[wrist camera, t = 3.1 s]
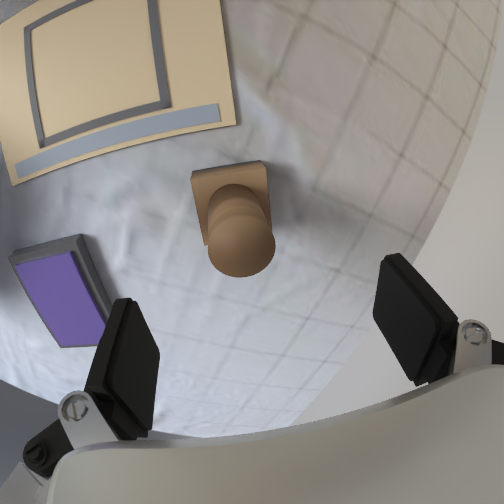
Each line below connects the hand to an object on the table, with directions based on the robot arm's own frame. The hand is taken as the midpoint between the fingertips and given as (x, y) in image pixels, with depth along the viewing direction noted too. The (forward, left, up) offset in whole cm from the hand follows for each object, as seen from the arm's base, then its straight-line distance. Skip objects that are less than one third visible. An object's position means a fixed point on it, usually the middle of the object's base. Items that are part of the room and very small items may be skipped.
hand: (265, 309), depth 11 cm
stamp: (0, 0, -12) cm, 12 cm away
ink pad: (+6, -16, -11) cm, 21 cm away
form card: (-12, -8, -11) cm, 19 cm away
